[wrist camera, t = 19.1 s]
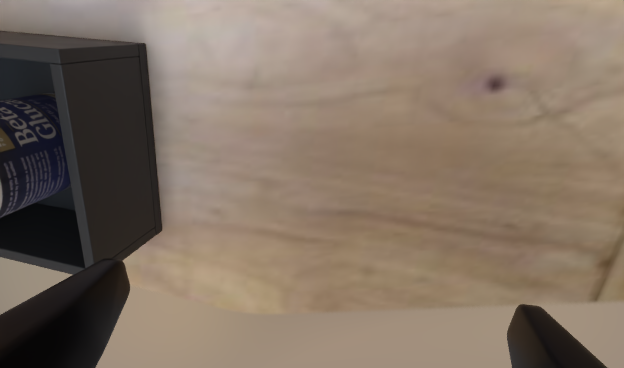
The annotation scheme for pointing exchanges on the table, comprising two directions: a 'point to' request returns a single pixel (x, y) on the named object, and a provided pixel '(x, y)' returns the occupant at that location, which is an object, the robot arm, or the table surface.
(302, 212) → the table surface
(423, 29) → the table surface
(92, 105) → the storage bin
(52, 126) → the pill bottle
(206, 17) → the table surface
